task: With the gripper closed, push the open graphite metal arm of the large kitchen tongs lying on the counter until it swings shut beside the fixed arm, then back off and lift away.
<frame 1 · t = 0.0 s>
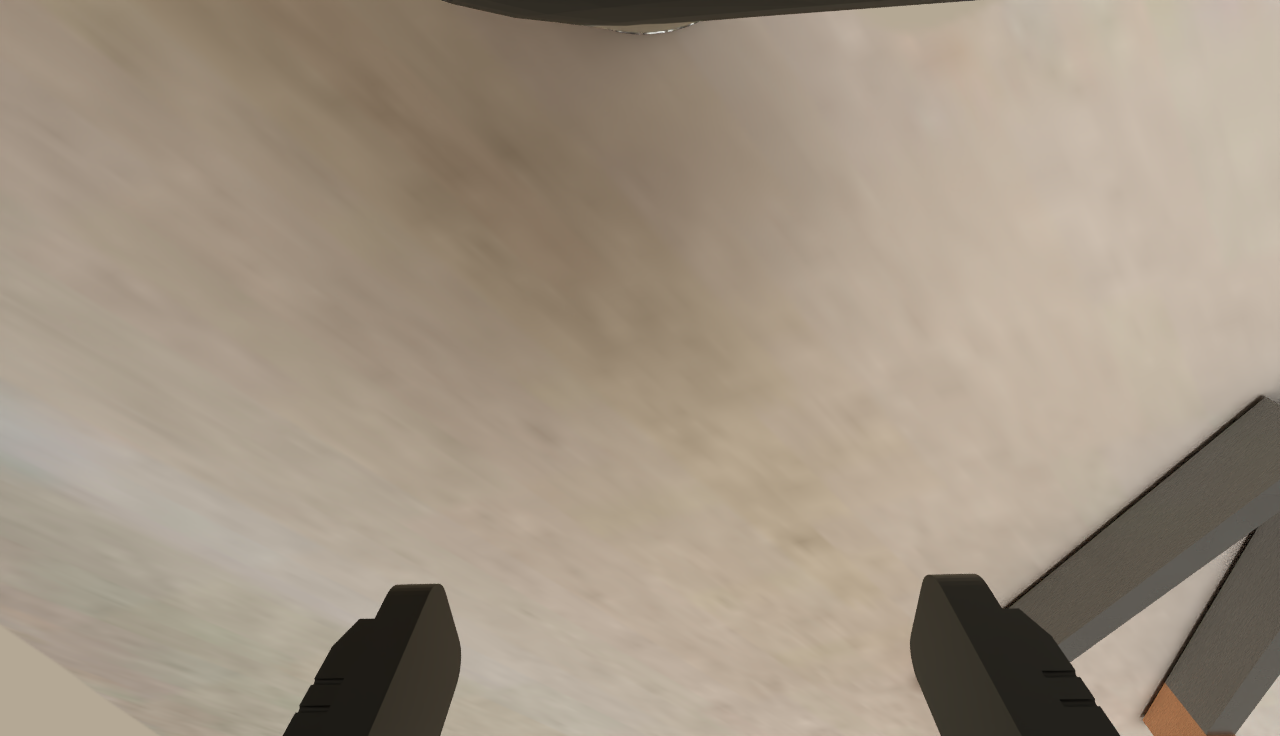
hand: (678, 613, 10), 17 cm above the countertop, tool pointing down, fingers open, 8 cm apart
tongs arm: (1095, 592, 31), point 2 cm above the countertop, hinge at -30.0°
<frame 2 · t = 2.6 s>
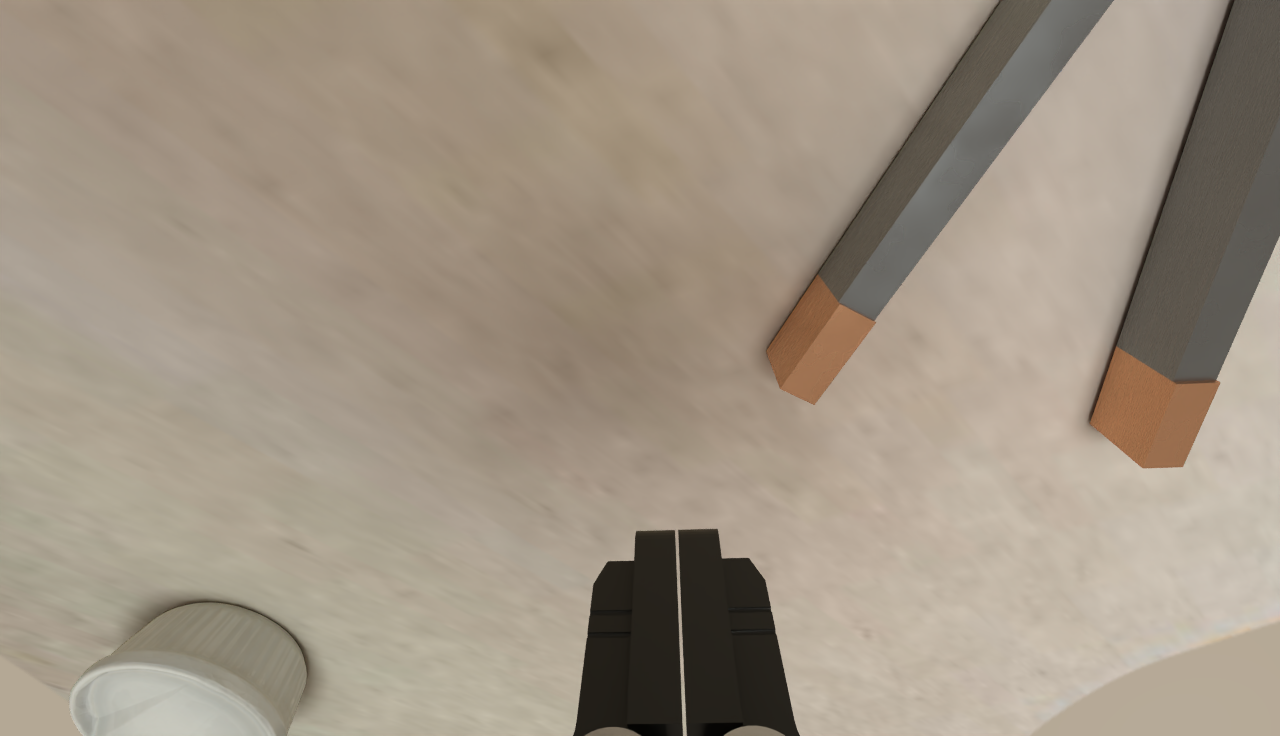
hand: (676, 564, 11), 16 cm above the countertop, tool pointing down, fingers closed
ramekin: (236, 647, 38), on the countertop
tongs arm: (986, 97, 20), point 2 cm above the countertop, hinge at -30.0°
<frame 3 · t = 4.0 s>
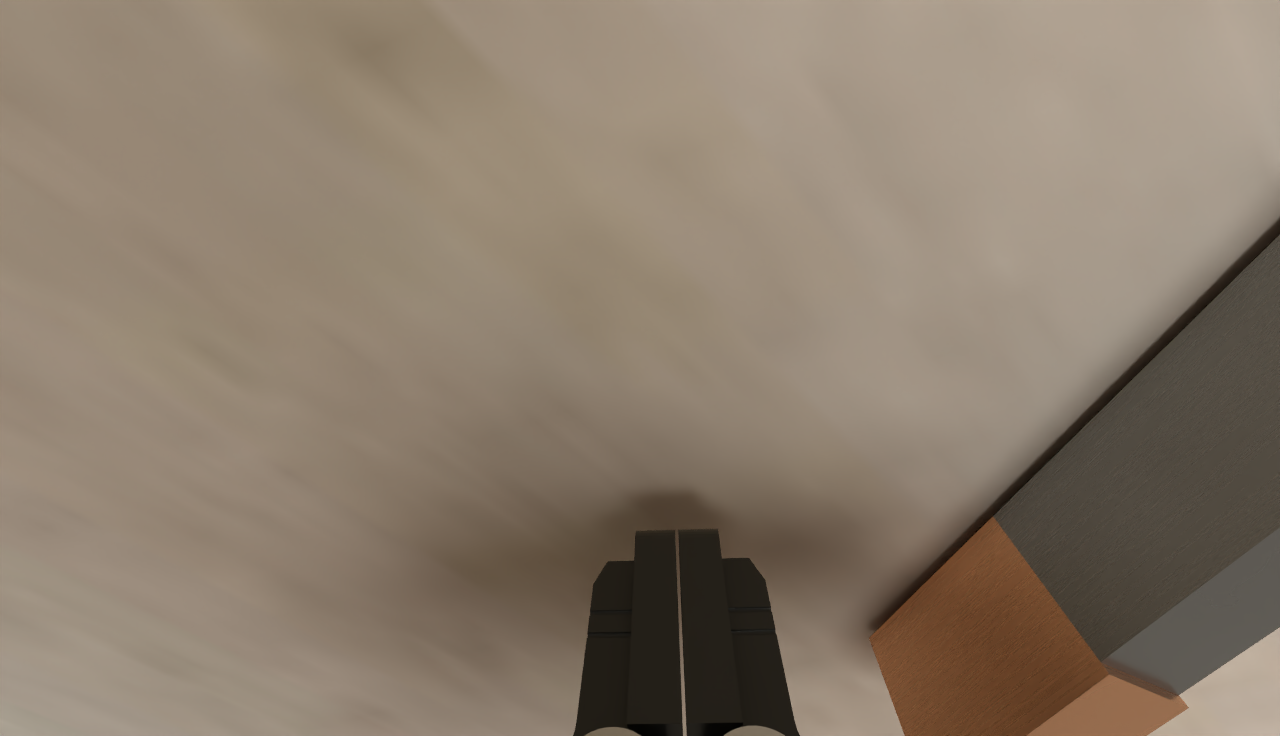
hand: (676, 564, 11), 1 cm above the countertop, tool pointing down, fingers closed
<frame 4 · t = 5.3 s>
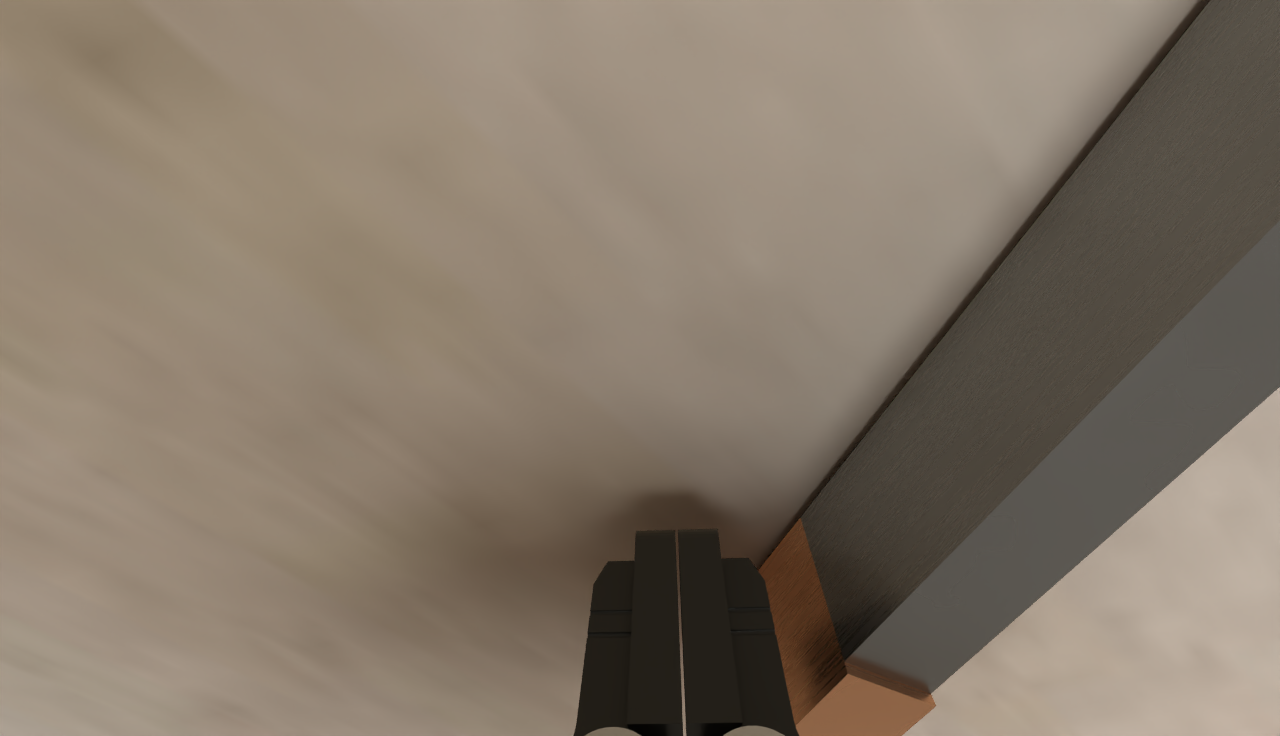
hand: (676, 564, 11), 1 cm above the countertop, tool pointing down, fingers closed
tongs arm: (1255, 174, 7), point 2 cm above the countertop, hinge at -29.4°, touching gripper
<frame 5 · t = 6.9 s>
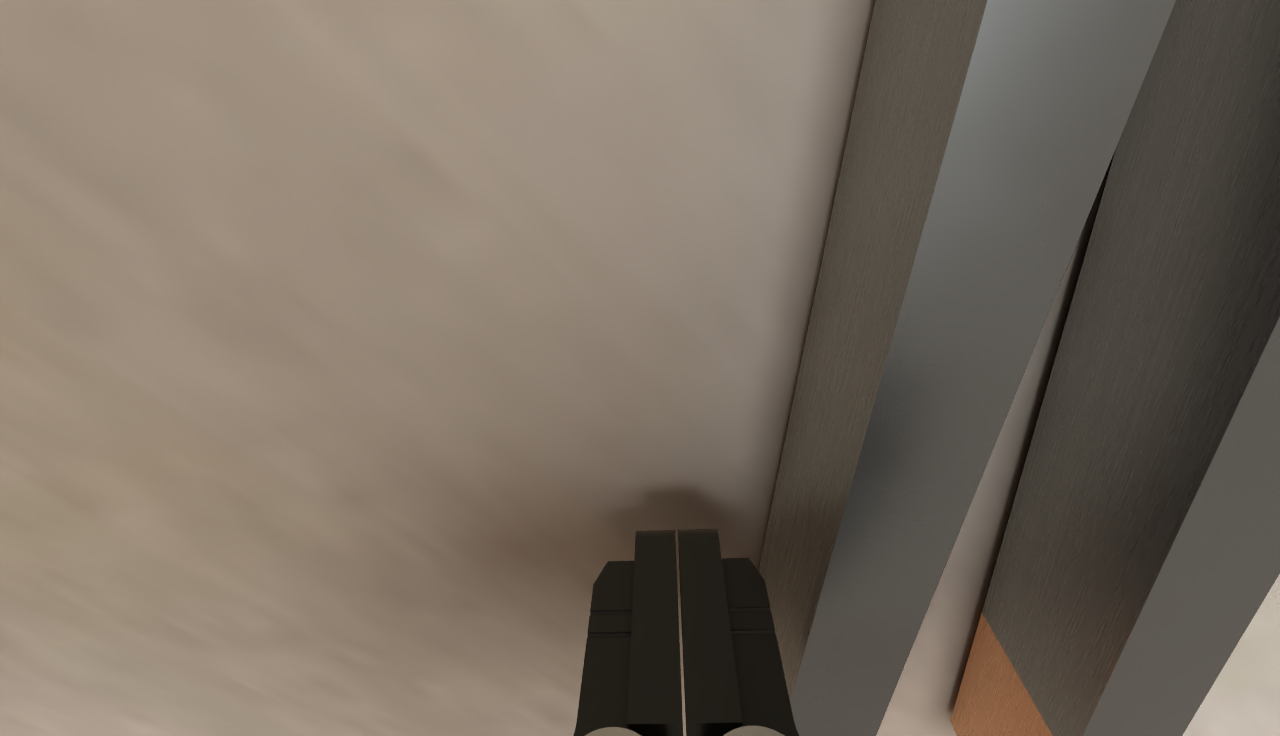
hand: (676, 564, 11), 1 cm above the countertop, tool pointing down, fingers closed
tongs arm: (911, 302, 8), point 2 cm above the countertop, hinge at -7.0°, touching gripper
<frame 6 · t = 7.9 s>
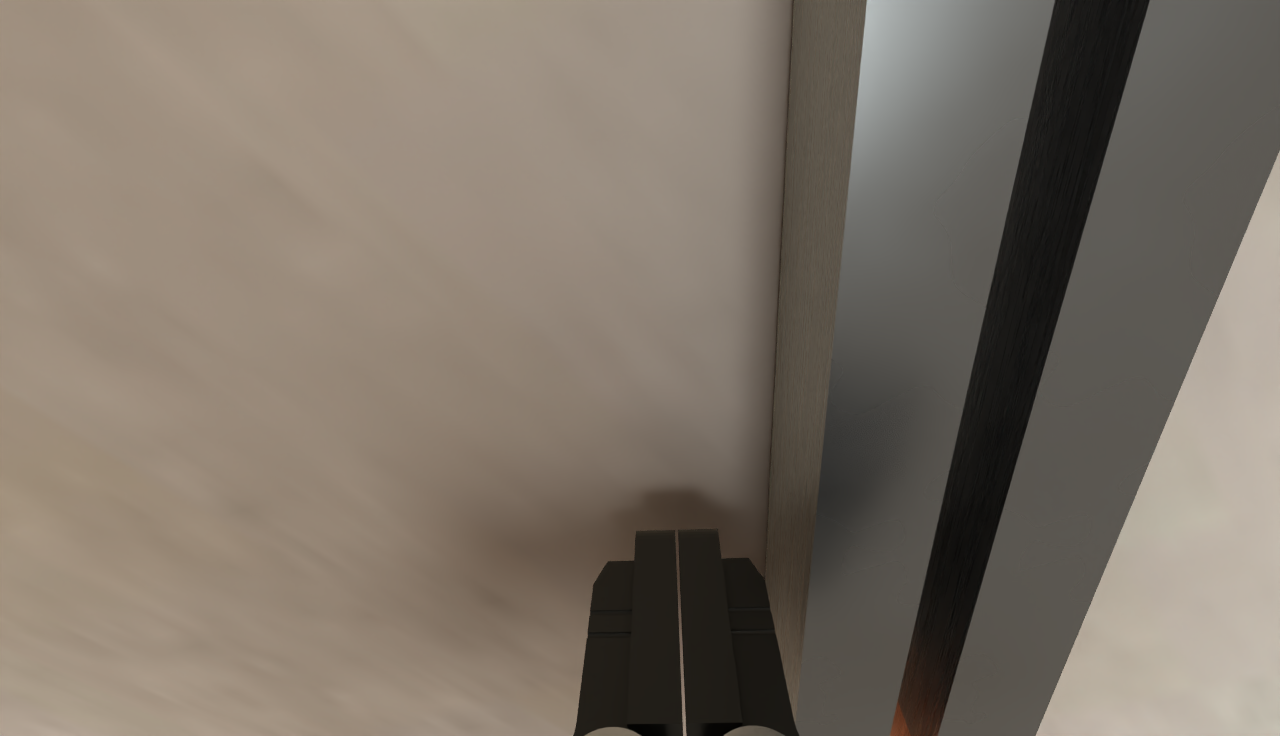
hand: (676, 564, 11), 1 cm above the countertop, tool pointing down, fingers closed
tongs arm: (858, 339, 8), point 2 cm above the countertop, hinge at 0.0°, touching gripper
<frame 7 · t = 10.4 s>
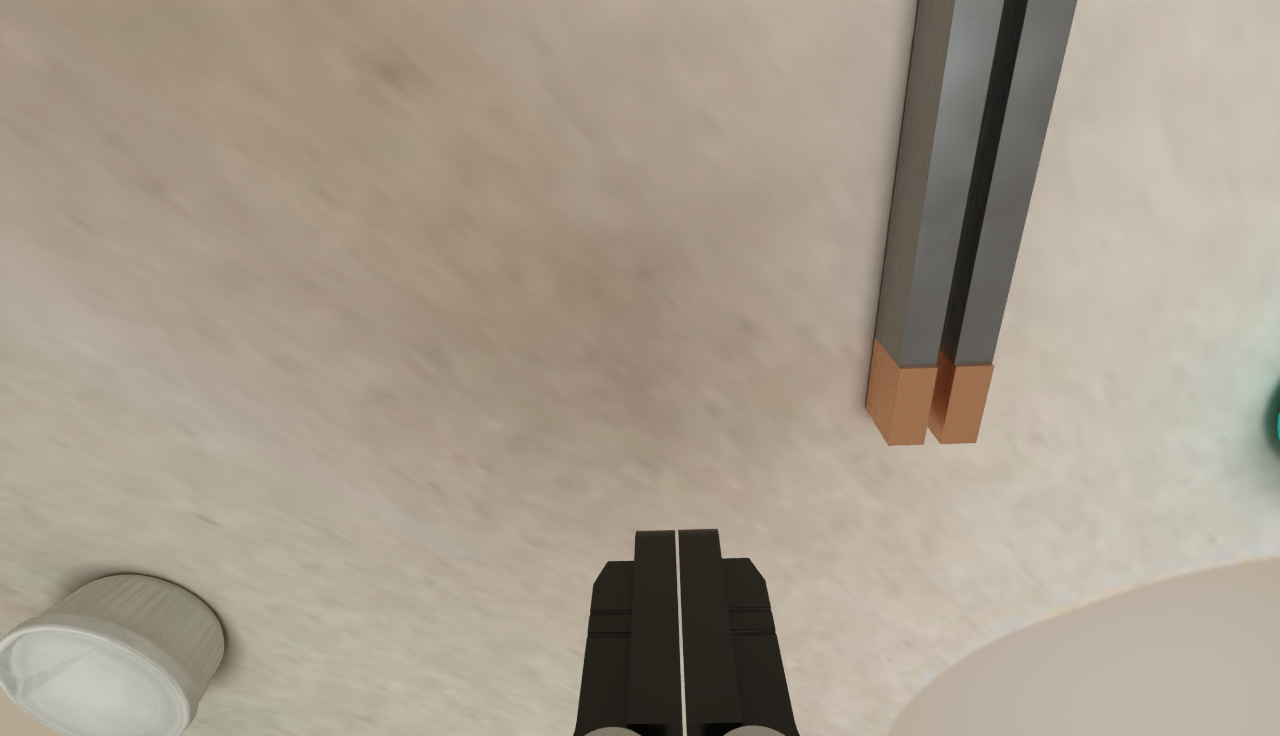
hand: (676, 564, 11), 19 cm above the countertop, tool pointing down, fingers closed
ramekin: (159, 618, 40), on the countertop
tongs arm: (933, 170, 24), point 2 cm above the countertop, hinge at 0.1°
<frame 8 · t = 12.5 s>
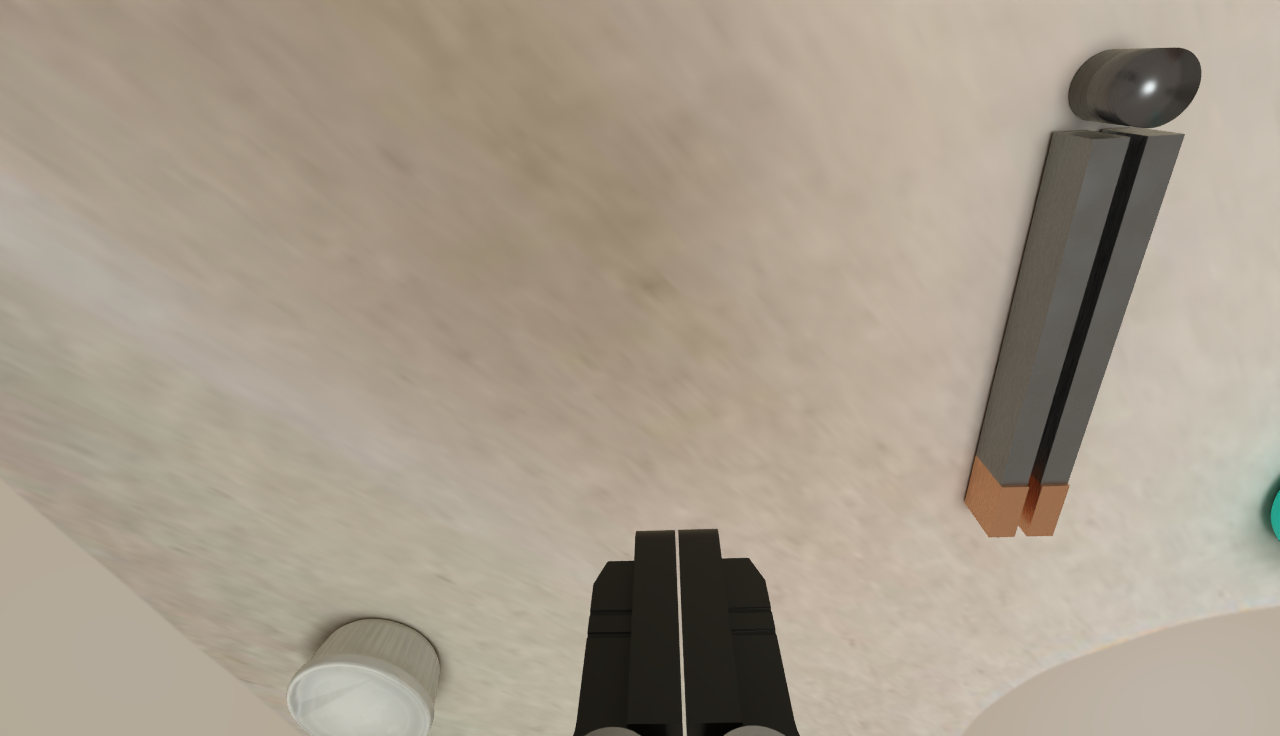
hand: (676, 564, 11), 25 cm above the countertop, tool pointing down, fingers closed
ramekin: (387, 651, 51), on the countertop
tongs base: (1103, 86, 29), on the countertop
tongs arm: (1031, 357, 34), point 2 cm above the countertop, hinge at 0.1°
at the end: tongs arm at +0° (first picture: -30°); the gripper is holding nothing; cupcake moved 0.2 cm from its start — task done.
